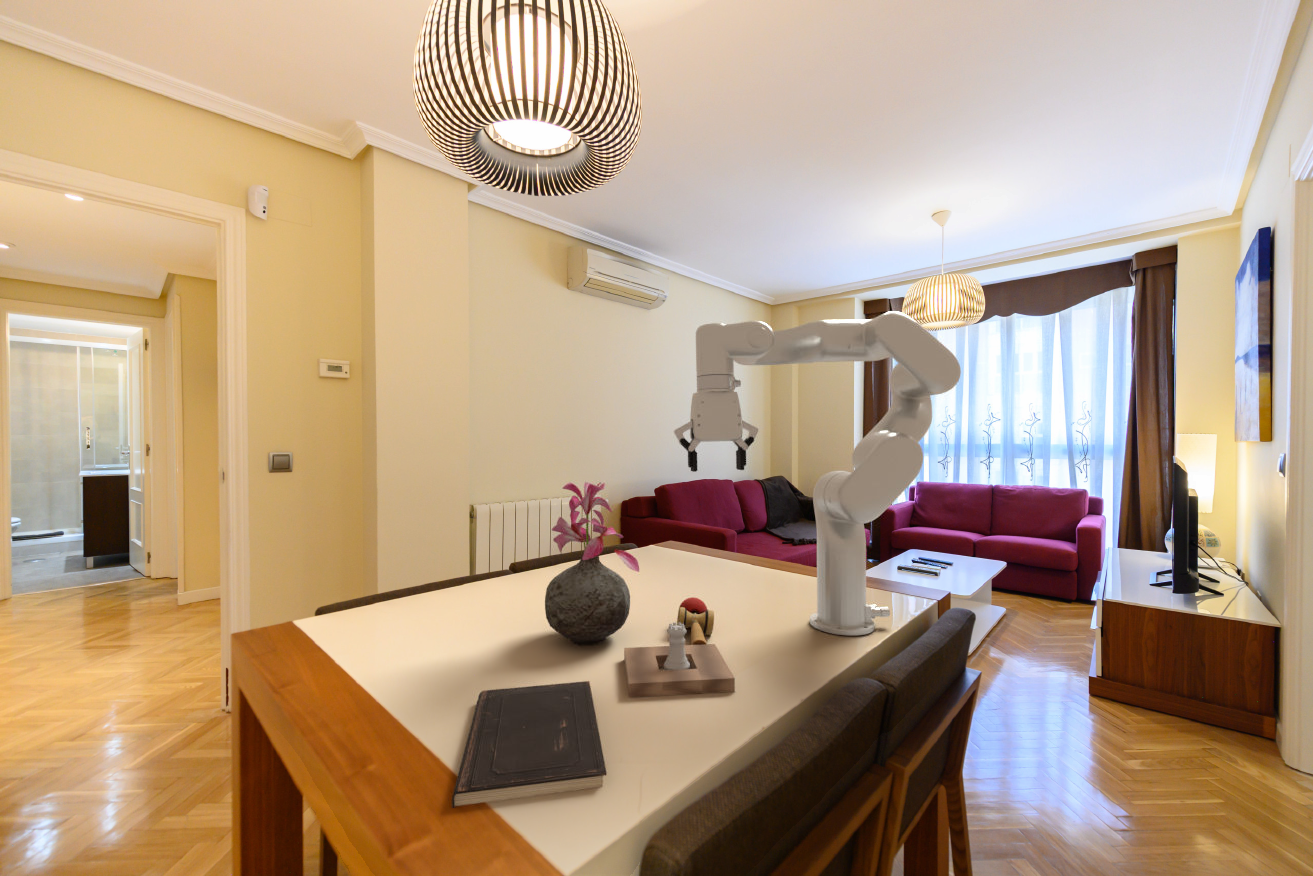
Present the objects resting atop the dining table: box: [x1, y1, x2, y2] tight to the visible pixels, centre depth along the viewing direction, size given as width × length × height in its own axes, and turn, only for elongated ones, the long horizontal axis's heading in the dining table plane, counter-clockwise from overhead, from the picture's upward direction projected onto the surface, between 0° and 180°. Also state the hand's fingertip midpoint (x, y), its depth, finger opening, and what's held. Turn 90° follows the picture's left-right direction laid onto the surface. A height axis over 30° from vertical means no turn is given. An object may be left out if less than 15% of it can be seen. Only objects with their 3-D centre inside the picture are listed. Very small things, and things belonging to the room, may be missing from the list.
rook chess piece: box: [663, 621, 691, 670], centre depth 88 cm, size 4×4×8 cm
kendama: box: [676, 597, 715, 645], centre depth 104 cm, size 8×6×18 cm
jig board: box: [623, 643, 736, 698], centre depth 88 cm, size 16×14×2 cm
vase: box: [544, 481, 640, 646], centre depth 104 cm, size 17×17×30 cm
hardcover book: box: [451, 680, 607, 809], centre depth 69 cm, size 16×23×2 cm
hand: (717, 470), depth 109 cm, fingers open, 9 cm apart
